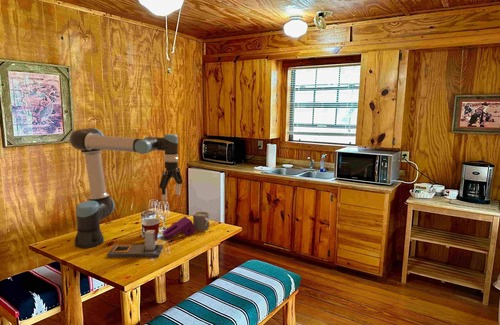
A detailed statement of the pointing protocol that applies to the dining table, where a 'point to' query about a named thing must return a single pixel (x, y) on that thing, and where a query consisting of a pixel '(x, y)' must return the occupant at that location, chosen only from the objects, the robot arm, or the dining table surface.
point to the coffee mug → (201, 221)
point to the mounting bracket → (180, 228)
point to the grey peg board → (134, 251)
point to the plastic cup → (151, 225)
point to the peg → (150, 241)
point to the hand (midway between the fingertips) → (171, 197)
